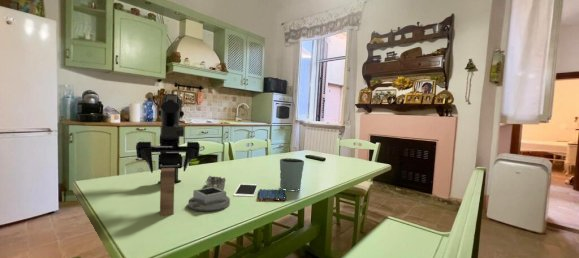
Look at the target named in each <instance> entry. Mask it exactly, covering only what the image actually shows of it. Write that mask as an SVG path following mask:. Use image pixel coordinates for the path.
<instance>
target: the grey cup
mask: <svg viewBox="0 0 579 258" xmlns="http://www.w3.org/2000/svg"><path fill="white" fill-rule="evenodd" d="M304 164H305V161H304V160H303V159H298V158H292V157H291V158H289V157H287V158H284V157H283V158H281V159H279V170H280V172H279V174H280V175H279V177H280V181H279V188H280V187H281V188H282V189H286V190H298V189H300V190H301V188H302V187H301V185H302V179H303V178H302V177H303V171H304ZM281 188H280V189H281ZM282 189H281V190H282ZM298 191H299V190H298Z"/></svg>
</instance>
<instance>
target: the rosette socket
mask: <svg viewBox="0 0 579 258" xmlns="http://www.w3.org/2000/svg"><path fill="white" fill-rule="evenodd" d="M192 193H193V194H192V195H193V197H190V198H189V199H188V204H187V205H188V208H189V209H190V210H191V211H195V212H197V213H198V212H199V213H212V212H214V213H215V212H219V211H222V209H223V210H225V209H227V208H229V206H230V205H231V204H230V200H231V199H230V197H229V196H227V191H225V190H221V189H219V188H217V187H209V188H205V187H204V188H200V189H199V188H198V189H194V190H193V192H192Z"/></svg>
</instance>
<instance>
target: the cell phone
mask: <svg viewBox="0 0 579 258" xmlns="http://www.w3.org/2000/svg"><path fill="white" fill-rule="evenodd" d="M258 187H259V185H258V184H256V183H255V184H254V183H253V184H252V183H239V185H238V187H237V188H236V189H235V191H234V193H233V194H232V196H233V197H247V198H255V196H254V195H256V193H257V190H258Z"/></svg>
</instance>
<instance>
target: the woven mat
mask: <svg viewBox="0 0 579 258" xmlns="http://www.w3.org/2000/svg"><path fill="white" fill-rule="evenodd" d="M286 195H287V194H286V191H285V190H282V189H262V188H260V189H259V190H258V191H257V195H256V196H257V197H256V200H257V201H258V200H259V201H261V202H262V200H263V201H264V200H266V202H269V201H270V200H272V201H273V200H278V199H279V200H281V201H283V200H285V201H286V200H287V198H286V197H287V196H286ZM284 197H285V198H284ZM268 200H269V201H268Z"/></svg>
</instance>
